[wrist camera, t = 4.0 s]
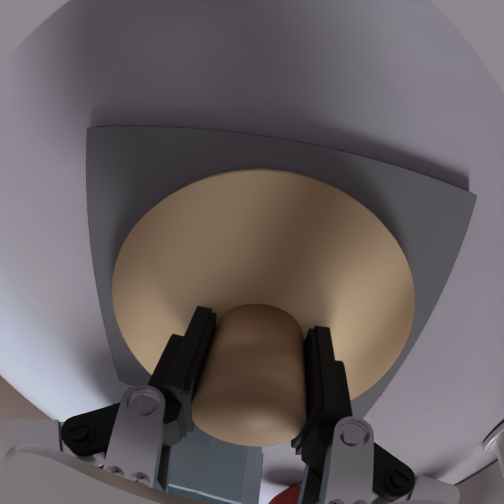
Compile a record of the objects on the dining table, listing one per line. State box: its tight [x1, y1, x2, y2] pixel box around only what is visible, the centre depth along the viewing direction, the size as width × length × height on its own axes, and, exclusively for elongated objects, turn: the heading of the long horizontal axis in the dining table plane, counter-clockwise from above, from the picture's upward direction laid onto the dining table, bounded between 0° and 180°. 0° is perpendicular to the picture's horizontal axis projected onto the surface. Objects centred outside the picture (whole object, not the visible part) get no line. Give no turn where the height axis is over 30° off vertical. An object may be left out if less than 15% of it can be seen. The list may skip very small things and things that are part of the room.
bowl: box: [168, 424, 263, 504], centre depth 16 cm, size 11×11×6 cm
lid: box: [112, 168, 415, 446], centre depth 10 cm, size 13×13×5 cm
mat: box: [86, 126, 477, 419], centre depth 12 cm, size 16×15×1 cm
